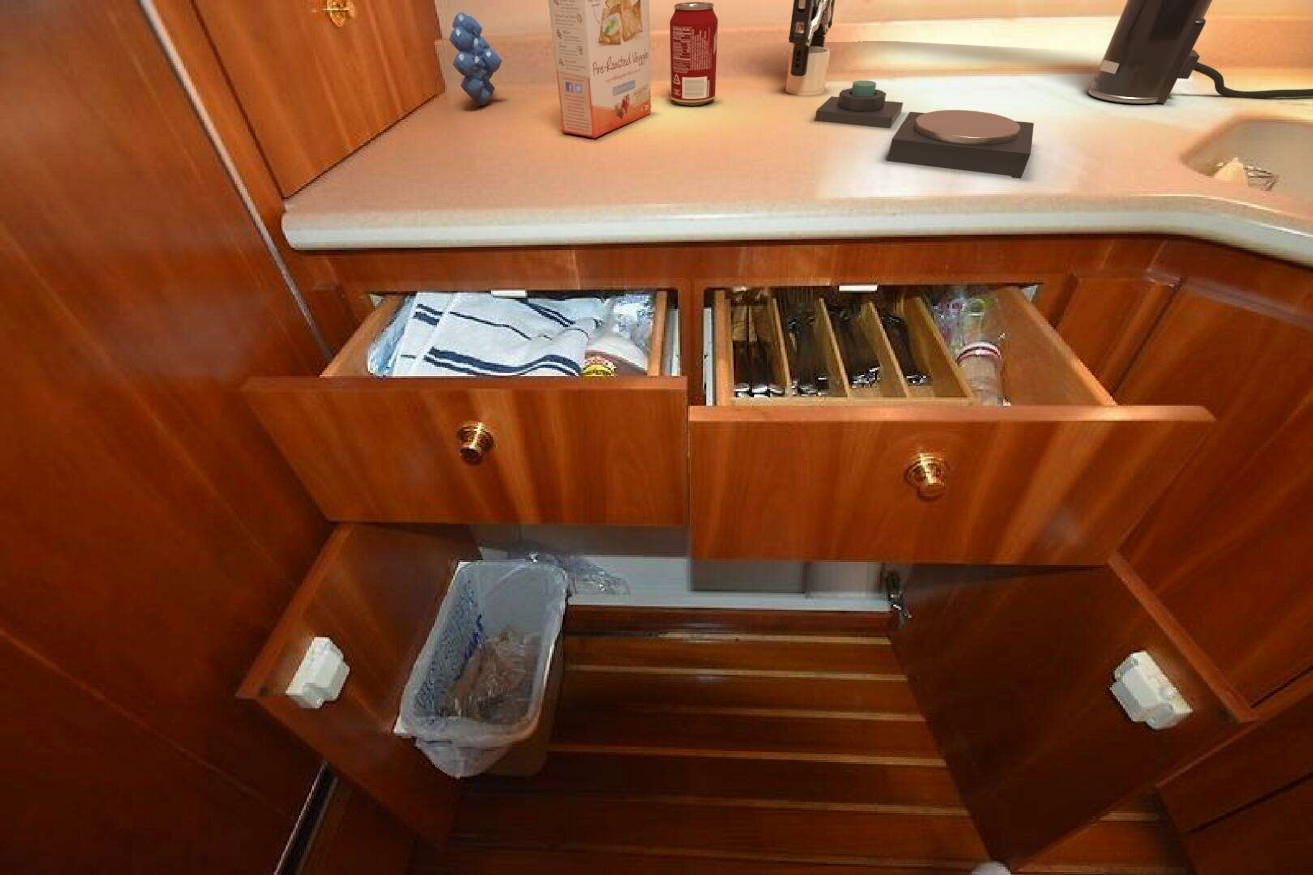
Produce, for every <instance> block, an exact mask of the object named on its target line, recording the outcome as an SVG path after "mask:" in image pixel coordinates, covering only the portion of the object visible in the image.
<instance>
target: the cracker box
mask: <svg viewBox="0 0 1313 875" xmlns="http://www.w3.org/2000/svg"><path fill="white" fill-rule="evenodd" d="M548 8H549V17H550V26H551V35H552V45H553V54H554V63H555V71H556V81H557V89H558V96H559V97H558V99H559V107H560V108H559V109H560V116H561V122H562V123H561V125H562V132H563V133H565V134H572V135H577V136H583V137H586V138H587V137H588V138H592V139H593V138H594V139H596V138H598V137H601V136H602V135H605V134H607V133H610V132H612V131H614V130H616V129H619V128H621V127H622V126H625V125H627V124H629V123H632V122H634V121H637V120H639V119H641V118H644V117H646V116H648V115H650V114H651V112H652V104H651V102H652V100H651V99H652V98H651V97H652V96H651V94H652V93H651V39H650V38H651V36H650V35H651V33H650V31H651V30H650V0H548Z"/></svg>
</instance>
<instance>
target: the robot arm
mask: <svg viewBox="0 0 1313 875" xmlns="http://www.w3.org/2000/svg"><path fill="white" fill-rule="evenodd" d="M835 2H836V0H793V2H792V3H793V4H792V12H791V20H790V29H789V36H788V42H789V43H791V45H792V46H793V48H794V49H793V57H792V66H791V75H793V76H804V75H805V74H806V71H807V64H808V56H809V49H810V46H816V47H825V41H826V36H827V35H828V33H829V29H831V28H832V25H833V16H834V10H835ZM1212 2H1213V0H1126V2H1125V5H1124V7H1123V10H1122V11H1121V15H1120V17H1119V20H1118V22H1117V24H1116V26H1115V29H1114V31H1113V34H1112V36H1111V39H1110V40H1109V43H1108V45H1107V48H1106V51H1105V53H1104V55H1103V58H1102V60H1101V62H1100V65H1099V67H1098V70H1097V72H1096V74H1095V76H1094V78H1093V82H1092V84H1091V85H1090V87H1089V89H1088V91H1087V93H1088V94H1089V95H1090V96H1092V97H1094V98H1097V99H1100V100H1105V101H1109V102H1116V103H1124V104H1158V103H1159V104H1166V103H1167V101H1168V99H1169V96H1170V94H1172V93H1171V92H1172V91H1173V88H1174V87H1175V84H1176V83H1177V81H1178V80H1179V79H1181V80H1188V79H1189V78H1190V76H1191V75H1192V73H1193V71H1194V72H1197V73H1199V74H1202V75H1204V76H1207V77H1208V78H1210V79H1211V80H1213V82H1214V90H1215V91H1216V93H1217V94H1218V95H1220V96H1222V97H1226V98H1234V99H1235V98H1237V99H1258V100H1259V99H1271V98H1272V99H1273V98H1309V97H1313V88H1302V89H1301V88H1300V89H1299V88H1298V89H1297V88H1296V89H1293V88H1292V89H1269V90H1267V89H1266V90H1255V91H1254V90H1249V91H1247V90H1246V91H1245V90H1236V89H1232V88H1229V87H1227V86H1226V85H1225V81H1224V80H1225V79H1224V76H1223V75H1222V74H1221V72H1219V71H1218V70H1217V69H1215V68H1213V67H1211V66H1209V65H1206V64H1203V63H1202V62H1199V59H1200V55H1199V53H1198V52H1197V51H1196V50H1195V49H1194V47H1195V45H1196V44H1197V41H1198V39H1199V37H1200V35H1201V33H1202V31H1203V29H1204V27H1205V25H1206V23H1207V20H1206V18H1205V16H1206V14H1207V12H1208V11H1209V9H1210V6H1211V4H1212ZM801 31H803V32H801Z"/></svg>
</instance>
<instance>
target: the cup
mask: <svg viewBox="0 0 1313 875" xmlns="http://www.w3.org/2000/svg"><path fill="white" fill-rule="evenodd" d="M793 49H794V47H791V48H790V49H789V53H788V54H789V55H788V62H787V64H788V65H787V73H786V82H785V92H787V93H788V94H791V95H797V96H814V95H819V94H822V93H824V92H825V87H826V81H827V75H828V68H829V63H830V55H831V49H830V48H827V47H825V46H824V47H816V46H810V49H809V56H808V64H807V71H806V74H805V75H804V76H793V75H791V66H792V57H793Z"/></svg>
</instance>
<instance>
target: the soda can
mask: <svg viewBox="0 0 1313 875" xmlns="http://www.w3.org/2000/svg"><path fill="white" fill-rule="evenodd" d="M714 7H715V4H714V3H713V2H709V1H708V2H707V1H687V2H686V1H685V2H679V3H676V4H674V5H673V8H674V12H673V14H672V16H671V18H670V20H669V58H670V59H669V60H670V62H669V63H670V64H669V65H670V66H669V67H670V69H669V74H670V98H671V99H672V100H673V101H675V102H676V103H677V104H678V105H681V106H689V107H697V106H702V105H707V104H708V103H709V102H710V101H711V100H713V99H715V97H716V86H717V85H716V84H717V82H716V81H717V58H718V57H717V56H718V53H717V51H718V29H719V28H718V27H719V26H718V25H719V19H718V16H717V15H716V13H715V11H714Z"/></svg>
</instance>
